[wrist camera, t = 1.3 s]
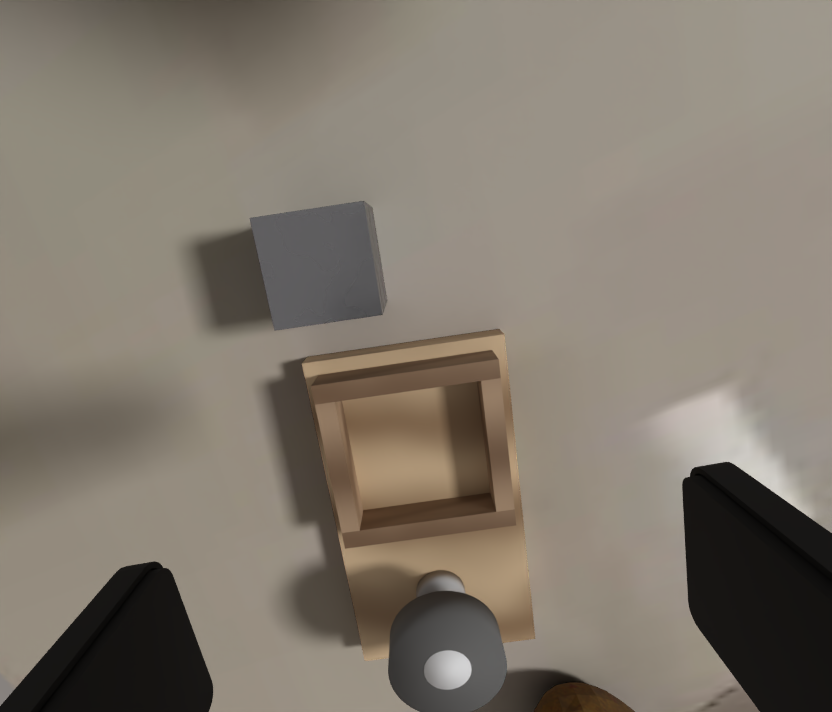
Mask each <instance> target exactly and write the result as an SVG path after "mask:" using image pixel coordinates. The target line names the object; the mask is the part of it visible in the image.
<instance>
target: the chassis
mask: <svg viewBox="0 0 832 712" xmlns="http://www.w3.org/2000/svg"><path fill="white" fill-rule="evenodd" d="M302 367H303V371H304V376H305V381H306V386H307V390H308V395H309V400H310V404H311V409H312V414H313V419H314V423H315V428H316V433H317V437H318V442H319V447H320V452H321V456H322V461H323V466H324V471H325V475H326V480H327V485H328V489H329V494H330V499H331V504H332V508H333V513H334V518H335V522H336V527H337V532H338V537H339V541H340V546H341V551H342V555H343V560H344V565H345V570H346V574H347V579H348V584H349V589H350V593H351V598H352V603H353V607H354V612H355V617H356V622H357V626H358V631H359V636H360V640H361V645H362V650H363V655H364V659H365V661H369V660H377V659H384V658H389V643H390V630H391V626H392V623H393V621H394V619H395V617H396V615H397V614H398V613H399V611H400V610H401V609H402V608H403V607H404V606H405V605H406V604H408V603H409V602H410V601H412V600H414V599H415V598H417V597H419V596H422V595H424V594H428V593H431V592H436V591H456V592H461V593H465V594H468V595H471V596H473V597H475V598H477V599H478V600H480V601H481V602H483V603H484V604H485V605H486V606H487V607H488V608H489V609H490V610H491V611H492V613H493V614H494V616H495V618H496V620H497V623H498V626H499V630H500V634H501V639H502V643H506V642H513V641H521V640H528V639H535V632H534V622H533V612H532V602H531V592H530V582H529V573H528V563H527V553H526V543H525V533H524V523H523V513H522V503H521V493H520V484H519V474H518V464H517V454H516V444H515V434H514V424H513V414H512V405H511V395H510V385H509V375H508V365H507V355H506V345H505V335H504V333H503V332H502V331H501V330H500V329H496V330H489V331H482V332H475V333H468V334H461V335H454V336H448V337H441V338H434V339H427V340H420V341H413V342H406V343H399V344H393V345H386V346H379V347H372V348H365V349H358V350H351V351H344V352H337V353H331V354H324V355H317V356H310V357H307V358H306V359H305V361H304V362H303V363H302Z"/></svg>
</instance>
